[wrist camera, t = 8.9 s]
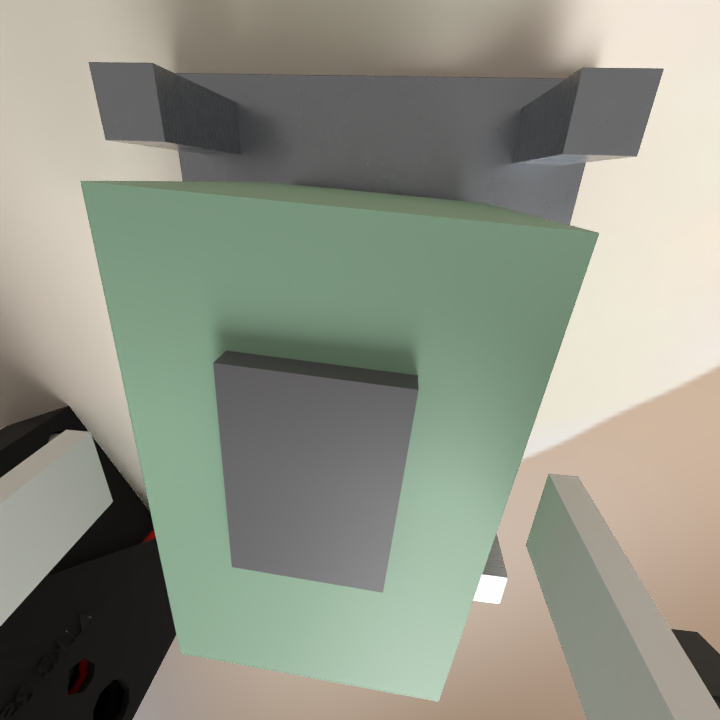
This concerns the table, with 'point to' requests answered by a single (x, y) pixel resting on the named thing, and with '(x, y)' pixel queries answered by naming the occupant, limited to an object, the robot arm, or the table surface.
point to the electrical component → (86, 606)
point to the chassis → (388, 139)
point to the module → (329, 408)
